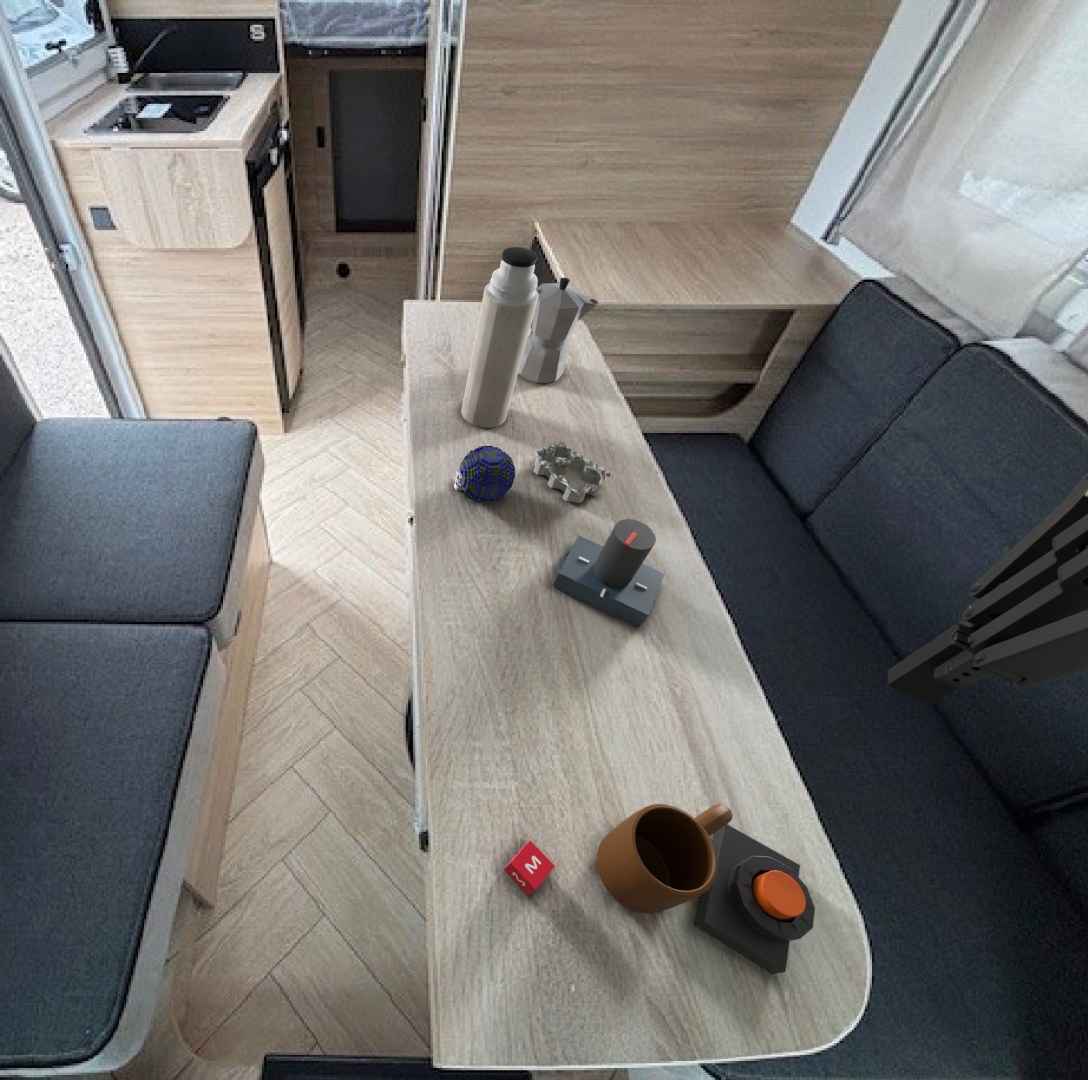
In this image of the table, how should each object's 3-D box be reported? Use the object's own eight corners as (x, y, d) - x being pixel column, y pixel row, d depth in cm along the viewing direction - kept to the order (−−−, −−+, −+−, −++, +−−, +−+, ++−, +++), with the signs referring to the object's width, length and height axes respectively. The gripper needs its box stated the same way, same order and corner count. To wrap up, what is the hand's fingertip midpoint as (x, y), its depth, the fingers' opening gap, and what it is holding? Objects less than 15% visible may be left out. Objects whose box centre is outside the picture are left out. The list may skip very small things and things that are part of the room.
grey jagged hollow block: (605, 493, 92) (614, 475, 89) (568, 509, 90) (576, 490, 87) (561, 452, 98) (569, 433, 95) (525, 465, 96) (532, 446, 93)
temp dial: (604, 552, 81) (626, 511, 74) (638, 572, 79) (664, 532, 72) (586, 573, 78) (607, 532, 72) (620, 594, 76) (645, 554, 70)
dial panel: (657, 583, 81) (666, 569, 79) (638, 631, 76) (648, 618, 74) (573, 545, 85) (580, 531, 83) (550, 589, 80) (557, 575, 78)
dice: (522, 847, 59) (530, 839, 57) (546, 872, 58) (555, 865, 56) (503, 869, 58) (510, 862, 56) (527, 895, 57) (535, 889, 54)
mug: (664, 795, 63) (706, 764, 56) (721, 866, 59) (774, 843, 52) (578, 852, 59) (611, 826, 52) (632, 932, 55) (676, 917, 48)
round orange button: (796, 889, 54) (808, 885, 53) (791, 928, 52) (803, 925, 51) (755, 865, 56) (766, 861, 54) (749, 903, 54) (759, 899, 52)
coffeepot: (574, 362, 115) (605, 271, 102) (572, 390, 110) (605, 297, 96) (495, 349, 118) (516, 258, 104) (489, 375, 112) (510, 283, 98)
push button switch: (795, 874, 59) (820, 865, 55) (780, 979, 53) (807, 976, 50) (714, 828, 61) (734, 817, 58) (692, 924, 56) (713, 918, 52)
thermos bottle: (487, 395, 108) (524, 236, 86) (515, 419, 103) (561, 259, 82) (452, 407, 105) (480, 247, 84) (479, 433, 101) (516, 270, 79)
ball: (460, 510, 89) (468, 474, 83) (451, 475, 94) (458, 438, 88) (512, 508, 90) (524, 471, 84) (500, 473, 94) (510, 436, 89)
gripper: (1172, 337, 30) (858, 600, 48) (1249, 489, 22) (844, 732, 40) (1382, 388, 27) (966, 646, 45) (1543, 577, 20) (972, 794, 38)
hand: (909, 686), depth 43 cm, fingers closed
